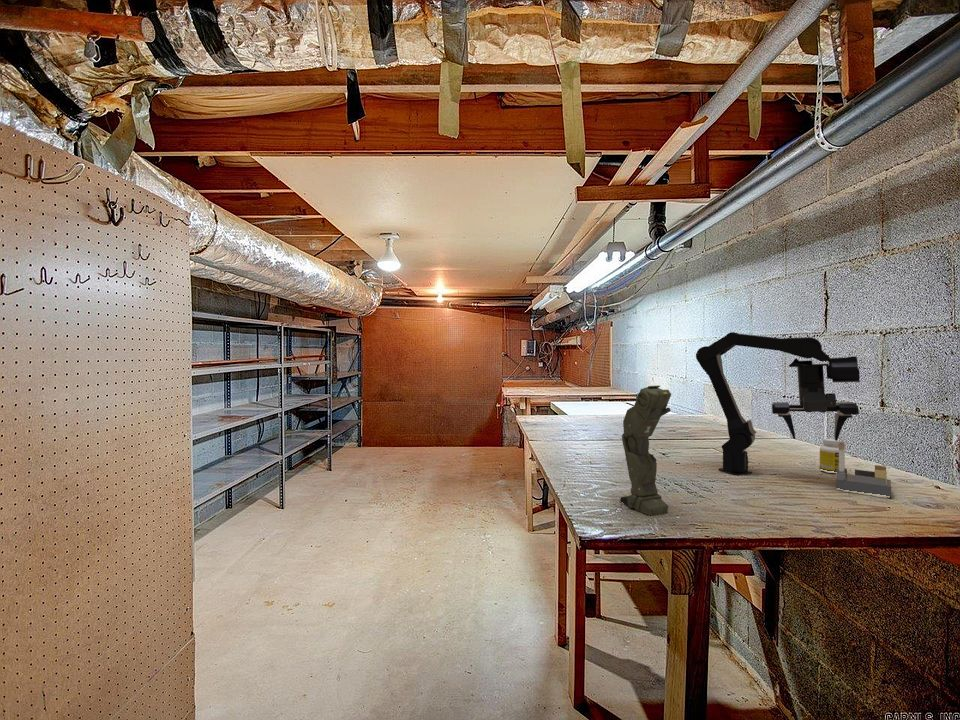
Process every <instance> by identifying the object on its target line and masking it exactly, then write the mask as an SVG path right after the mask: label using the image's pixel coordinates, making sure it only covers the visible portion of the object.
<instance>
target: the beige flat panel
mask: <svg viewBox="0 0 960 720" xmlns="http://www.w3.org/2000/svg"><path fill="white" fill-rule="evenodd" d="M845 448H846V442H845V441H844V442H841V441H840V442H839V472H841V473H845V469H846V466H845V465H846V464H845V463H846V460H845V458H846V457H845V456H846V454H845V453H846V452H845V451H846V449H845Z"/></svg>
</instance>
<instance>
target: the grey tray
mask: <svg viewBox="0 0 960 720" xmlns="http://www.w3.org/2000/svg"><path fill="white" fill-rule="evenodd" d="M887 472H888V471H887V465H881V464H879V465H878V464H875V465H874V471H870V470H863V469H855V468H854V474H850V473H849V474H848V468H845V473H841V472H839V468H838V472H837V474H836V478H835V489H836V488H840V489H843V490H849V491H857V492H864V493H872V494H880V495H886V496H891V497H892V482H891V479H887V478H888V477H887V476H888V475H887V474H888V473H887Z"/></svg>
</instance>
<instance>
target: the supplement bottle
mask: <svg viewBox="0 0 960 720" xmlns="http://www.w3.org/2000/svg"><path fill="white" fill-rule="evenodd" d="M839 442H841V441H840V440H839V439H838V440H837V441H835V438H822V444H823V445H821V446H820V447H819V470H820V469H823V470H827V471H834V472H838V468H839Z"/></svg>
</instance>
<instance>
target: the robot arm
mask: <svg viewBox="0 0 960 720" xmlns="http://www.w3.org/2000/svg"><path fill="white" fill-rule="evenodd" d="M736 346H739V347H748V348H755V349H762V350H763V349H765V350H771V351H777V352H778V351H779V352H781V353H782V352H783V353H786V354H788V355H792V356H796V357H800V358H803V359H810V360H799V359H798V358H794V360H793V361H792V362H791V363H789V365H788V367H790V368H797V382H798V383H797V384H798V397H799V404H790V403H789V402H788V401H787V402H786V401H785V402H784V401H783V402H782V401H780V402H779V401H777V402H776V401H774V402H773V403H772V404H771V412H772V414H774V415H777V417H778V418H783V419H784V421H785V423H786V424H787V425H786V426H787V427H788V429H789V432H790V434H791V436H792V439H793V440H796V431H795V427H794V424H793V419H792V414H791V412H806V413H814V412H815V413H818V412H819V413H823V414H825V413H827V412H828V413H829V412H835V413H834V426H833V427H834V431H833V433H834V434H833V435H834V437H833V438H834V439H835V441H837V440H839V436H840V433H841V432H842V428H843V426H844V424H845V422H846V421H847V420H848V419H850V418H851V419H852V418H853V415H860V412H859V411H860V410H859V405H858V404H856V403H854V402H853V401H852V402H851V401H849V402H848V401H847V402H846V401H842V402H841V401H839V402H837V398H836V397H837V396H836V393H833V392H832V393H831V392H830V393H826V391H825V389H826V388H825V375H824V367H825V368H826V379H827V380H832V383H860V380H861V378H860V368H859V364H858V357H857V356H855V355H854V356H847V357H830V354H827V353H826V352H825V351H824V350H823V346H822V342H820V340H818V339H816V338H814V337H812V336H811V337H808V336H807V337H786V338H785V337H772V336H763V335H757V334H756V335H753V334H746V333H738V332H734V331H731V332H728V333H727V334H726V335H724V336H723V337H722V338H719V339H718V340H716V341H715V342H713V343H711V344H710V345H708V346H707V345H705V346H702V347H700V348H699V349H697V352H695V353H696V354H695V358H696V361H697V362H698V365H700V367H701V369H702V370H703V371H704V372H705V374H706V375H707V376H708V377H709V380H710V382H711V385H712V387H713V390H714V393H716V397H717V399H718V402H719V405H720V407H721V410H722V411H723V413H724V416H725V418H726V424H727V432H728V437H729V439H728V440H727V441H726V442H725V443H723V444H722V445H721V448H722V467H719V468H718V471H721V472H724V473H728V474H730V475H731V474H732V475H735V476H740V475H747V474H748V475H749V474H752V473H753V471H752V470H749V456H748V451H746V450H747V449H749V448H750V447H751V445H753V443H754V442H755V439H756V434H757V431H756V430H755V429H754V426H753V423H752V420H751V419H749V420H746V419H745V418H744V417H743V415H742V414H741V411H740V409H739V407H738V404H737V402H736V400H735V397H734V394H733V392H732V390H731V387H730V385H729V383H728V381H727V377H726V376H725V373H724V367H723V366H724V365H723V359H722V356H723V355H725V354H726V353H728V351H730V350H732V349H733V348H735V347H736ZM812 358H813V359H815V360H816V361H819V362H828V363H813V360H811V359H812Z"/></svg>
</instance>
